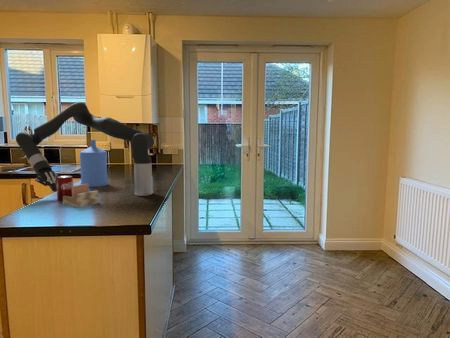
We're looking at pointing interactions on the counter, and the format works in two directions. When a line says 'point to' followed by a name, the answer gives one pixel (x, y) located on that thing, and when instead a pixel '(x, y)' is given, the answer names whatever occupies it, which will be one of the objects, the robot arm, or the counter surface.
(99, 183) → the water jug
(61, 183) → the soda can
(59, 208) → the counter surface
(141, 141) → the robot arm
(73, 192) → the catch plate
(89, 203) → the birch dock
